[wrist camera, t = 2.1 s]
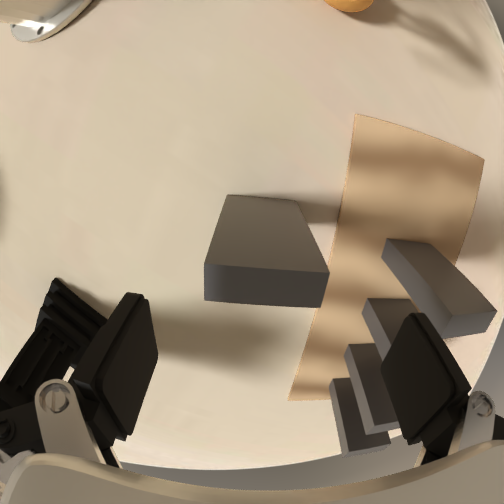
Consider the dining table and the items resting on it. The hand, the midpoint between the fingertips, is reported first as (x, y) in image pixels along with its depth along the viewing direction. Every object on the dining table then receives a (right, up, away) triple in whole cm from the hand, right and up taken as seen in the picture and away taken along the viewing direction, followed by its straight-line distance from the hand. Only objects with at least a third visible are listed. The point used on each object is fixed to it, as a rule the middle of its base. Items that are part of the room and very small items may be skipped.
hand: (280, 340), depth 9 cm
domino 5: (+12, +3, +12) cm, 17 cm away
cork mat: (+12, -2, +15) cm, 19 cm away
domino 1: (0, +6, +11) cm, 12 cm away
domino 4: (+11, -13, +20) cm, 26 cm away
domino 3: (+11, -7, +17) cm, 22 cm away
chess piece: (-21, -5, +17) cm, 28 cm away
